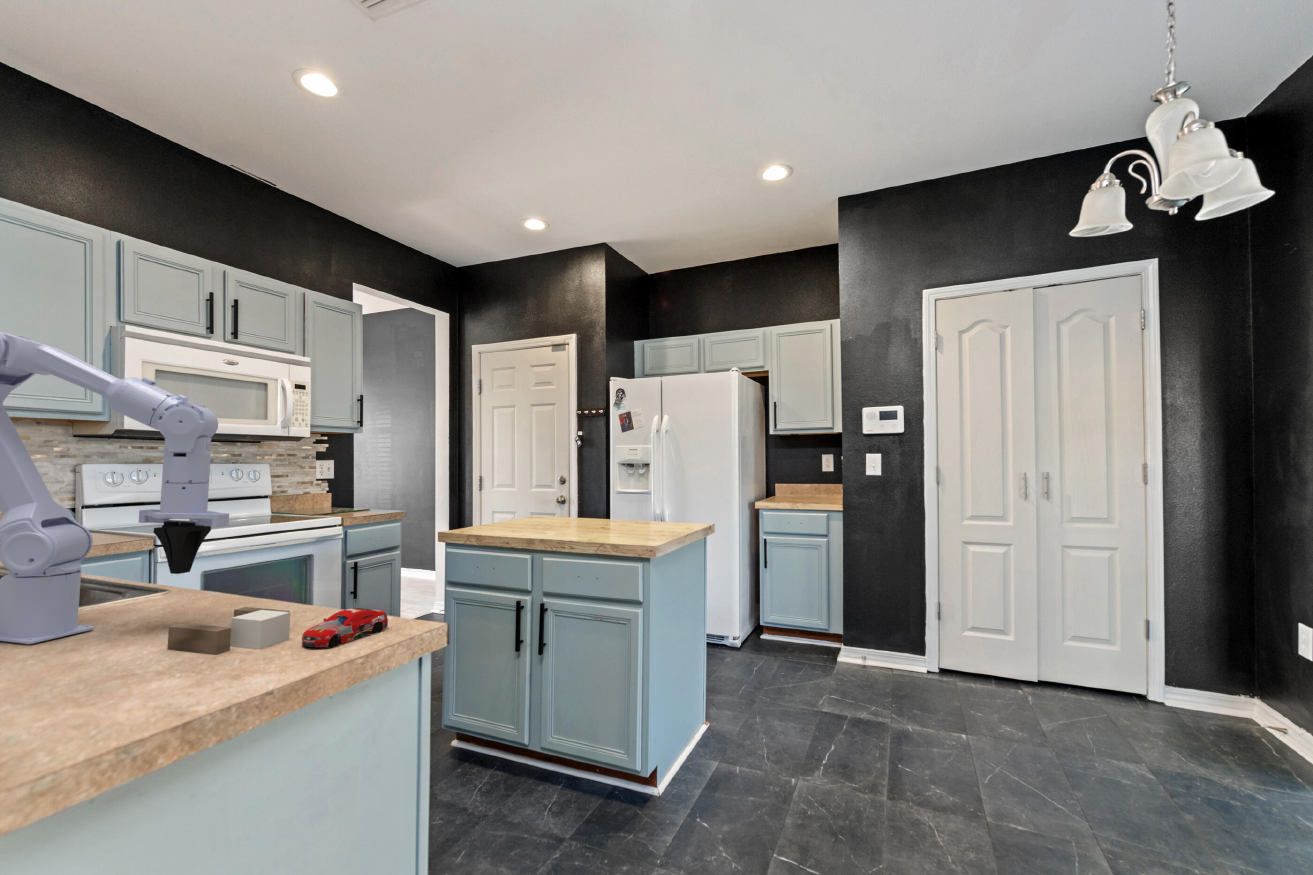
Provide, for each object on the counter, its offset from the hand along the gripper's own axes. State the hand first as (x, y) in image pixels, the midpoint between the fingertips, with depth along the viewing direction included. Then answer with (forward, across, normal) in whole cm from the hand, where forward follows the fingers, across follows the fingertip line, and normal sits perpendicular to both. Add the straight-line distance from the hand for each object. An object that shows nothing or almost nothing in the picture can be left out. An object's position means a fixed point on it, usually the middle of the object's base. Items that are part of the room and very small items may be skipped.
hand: (180, 572), depth 92 cm
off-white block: (+9, +17, -2) cm, 19 cm away
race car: (+9, +26, +4) cm, 28 cm away
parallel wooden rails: (+8, +12, -2) cm, 15 cm away
